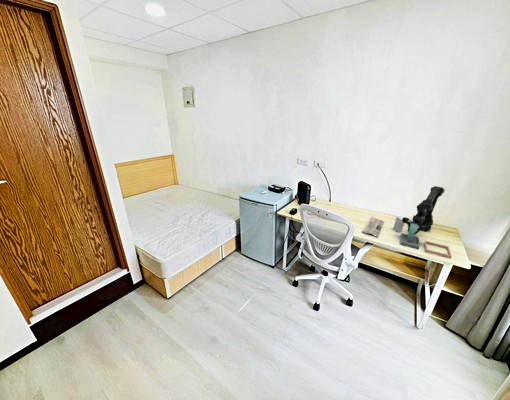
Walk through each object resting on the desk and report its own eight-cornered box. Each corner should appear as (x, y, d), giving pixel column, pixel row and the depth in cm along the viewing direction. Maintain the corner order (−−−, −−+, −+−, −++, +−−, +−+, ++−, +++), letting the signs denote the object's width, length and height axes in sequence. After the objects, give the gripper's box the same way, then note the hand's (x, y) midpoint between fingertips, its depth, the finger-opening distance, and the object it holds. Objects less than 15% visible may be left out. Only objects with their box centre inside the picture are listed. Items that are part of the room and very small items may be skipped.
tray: (400, 235, 181) (401, 233, 180) (418, 240, 175) (418, 237, 174) (399, 244, 169) (400, 241, 168) (418, 249, 162) (419, 246, 162)
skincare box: (392, 228, 193) (396, 216, 188) (397, 228, 193) (401, 216, 188) (397, 232, 187) (400, 219, 183) (402, 232, 187) (405, 219, 183)
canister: (405, 238, 172) (409, 222, 167) (409, 237, 173) (414, 222, 168) (410, 241, 168) (414, 225, 163) (414, 240, 169) (419, 224, 164)
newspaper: (377, 238, 178) (378, 234, 177) (361, 233, 185) (362, 230, 184) (383, 222, 205) (384, 219, 203) (369, 219, 212) (370, 216, 210)
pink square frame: (424, 242, 171) (425, 240, 170) (448, 248, 163) (448, 246, 162) (425, 251, 160) (426, 249, 159) (450, 258, 152) (451, 256, 151)
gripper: (406, 207, 172) (397, 224, 169) (434, 215, 158) (425, 233, 156) (407, 214, 179) (398, 229, 177) (434, 222, 165) (425, 239, 163)
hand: (411, 232), depth 168 cm, fingers closed on canister, 4 cm apart
